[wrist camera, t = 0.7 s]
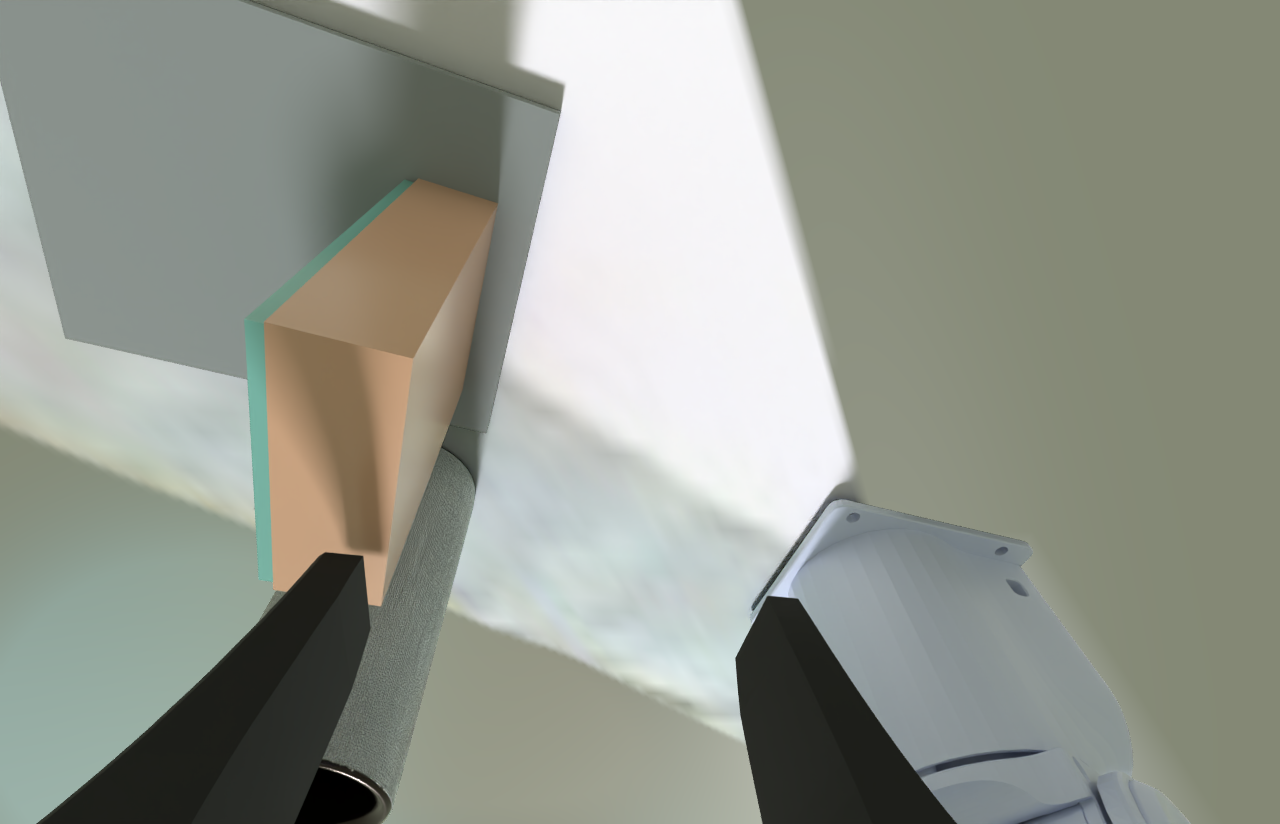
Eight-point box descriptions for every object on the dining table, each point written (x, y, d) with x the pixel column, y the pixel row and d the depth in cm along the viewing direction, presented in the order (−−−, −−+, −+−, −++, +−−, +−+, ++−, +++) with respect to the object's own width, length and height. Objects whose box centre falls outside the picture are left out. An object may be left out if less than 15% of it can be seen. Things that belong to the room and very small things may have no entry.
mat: (560, 111, 14) (559, 114, 14) (488, 424, 20) (486, 433, 19) (-23, -97, 12) (-46, -101, 11) (78, 330, 17) (65, 338, 17)
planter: (500, 505, 22) (432, 820, 13) (399, 542, 23) (277, 858, 14) (428, 417, 19) (290, 735, 11) (318, 462, 20) (114, 788, 12)
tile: (498, 203, 15) (413, 358, 8) (462, 389, 18) (381, 606, 12) (406, 174, 14) (240, 315, 8) (386, 371, 18) (256, 587, 11)
